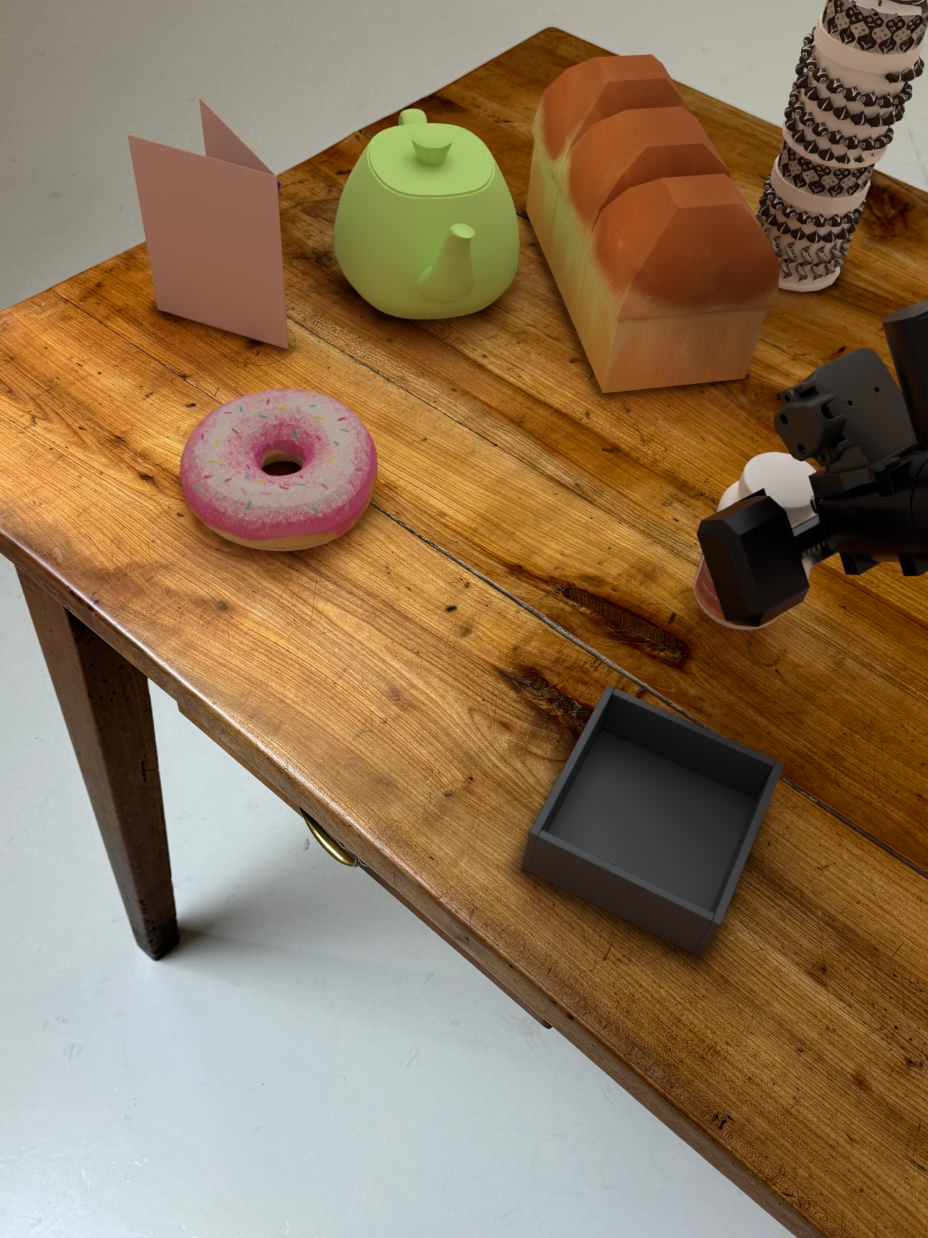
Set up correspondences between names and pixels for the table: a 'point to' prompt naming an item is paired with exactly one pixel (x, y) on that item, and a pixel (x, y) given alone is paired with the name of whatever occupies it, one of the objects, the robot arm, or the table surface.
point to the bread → (646, 229)
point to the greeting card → (213, 232)
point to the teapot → (427, 222)
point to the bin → (653, 819)
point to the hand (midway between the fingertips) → (748, 515)
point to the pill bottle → (780, 482)
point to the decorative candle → (838, 132)
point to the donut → (279, 505)
